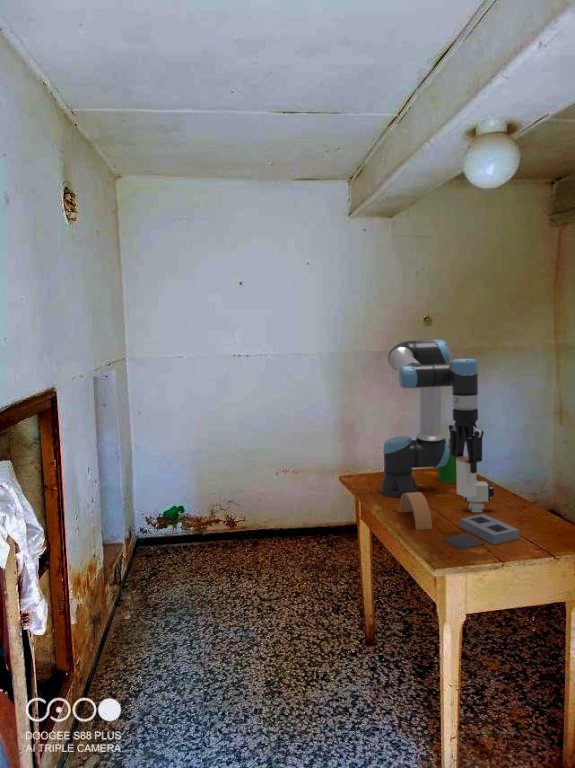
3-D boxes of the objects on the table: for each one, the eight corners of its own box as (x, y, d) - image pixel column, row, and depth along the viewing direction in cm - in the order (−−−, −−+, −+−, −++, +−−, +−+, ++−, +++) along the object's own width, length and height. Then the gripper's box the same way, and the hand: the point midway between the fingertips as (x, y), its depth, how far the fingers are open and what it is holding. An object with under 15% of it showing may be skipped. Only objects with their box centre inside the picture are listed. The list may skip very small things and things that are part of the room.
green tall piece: (448, 476, 235) (447, 434, 233) (465, 479, 228) (464, 436, 226) (435, 481, 229) (434, 437, 227) (452, 484, 222) (452, 440, 220)
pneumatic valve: (494, 514, 186) (494, 482, 184) (461, 513, 188) (460, 481, 187) (491, 508, 191) (491, 477, 190) (459, 508, 193) (458, 477, 192)
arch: (414, 510, 194) (413, 485, 193) (432, 530, 174) (431, 502, 173) (399, 511, 193) (398, 486, 192) (415, 531, 173) (415, 503, 172)
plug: (456, 493, 162) (456, 457, 161) (467, 491, 164) (466, 455, 162) (465, 497, 158) (465, 459, 157) (476, 495, 160) (476, 458, 158)
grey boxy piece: (460, 528, 174) (460, 518, 173) (484, 523, 177) (483, 513, 177) (494, 546, 159) (493, 535, 158) (518, 540, 162) (518, 529, 162)
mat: (442, 540, 165) (442, 538, 165) (465, 535, 168) (465, 533, 168) (460, 551, 156) (460, 548, 156) (484, 545, 159) (484, 543, 159)
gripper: (437, 406, 165) (439, 475, 167) (475, 412, 149) (476, 489, 151) (456, 403, 167) (457, 472, 170) (495, 410, 151) (495, 485, 154)
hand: (466, 480), depth 160 cm, fingers closed on plug, 4 cm apart
